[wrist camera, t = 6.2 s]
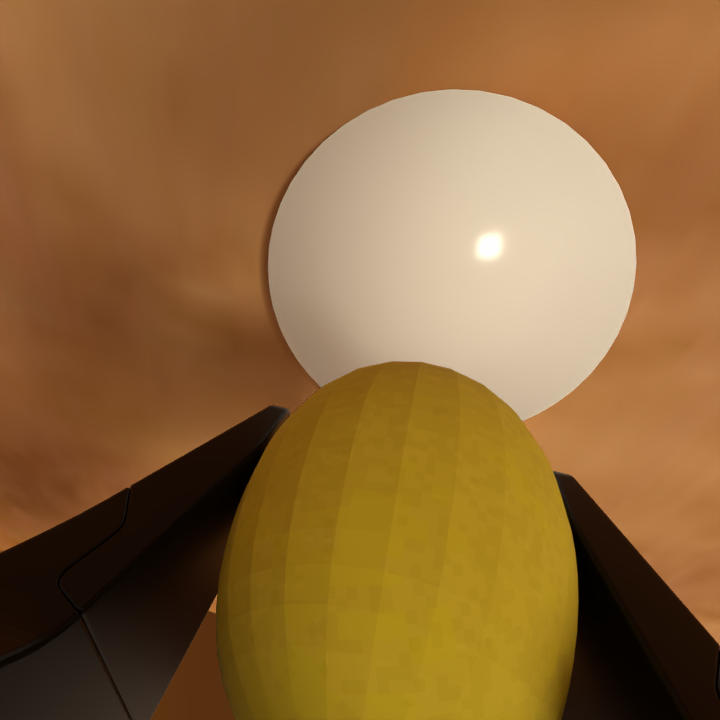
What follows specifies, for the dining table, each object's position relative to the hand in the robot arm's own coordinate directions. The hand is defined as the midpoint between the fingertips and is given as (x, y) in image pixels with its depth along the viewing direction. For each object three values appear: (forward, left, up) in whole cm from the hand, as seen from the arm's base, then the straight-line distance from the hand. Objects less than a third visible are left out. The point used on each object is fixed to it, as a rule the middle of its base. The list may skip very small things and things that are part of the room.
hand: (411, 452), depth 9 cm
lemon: (0, 0, -2) cm, 2 cm away
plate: (0, 0, -10) cm, 10 cm away
